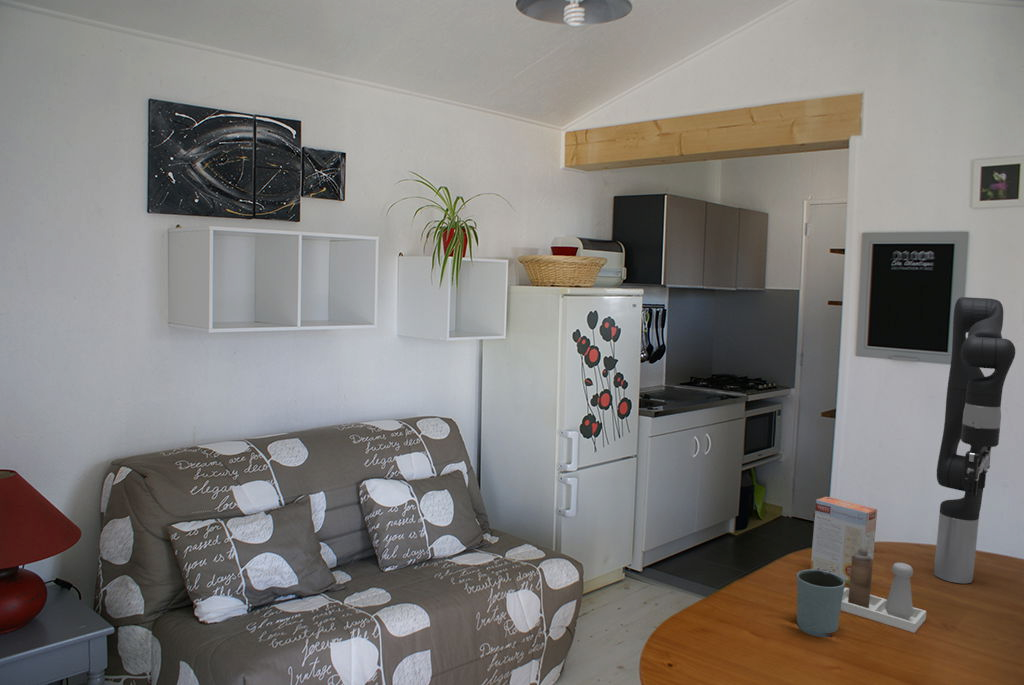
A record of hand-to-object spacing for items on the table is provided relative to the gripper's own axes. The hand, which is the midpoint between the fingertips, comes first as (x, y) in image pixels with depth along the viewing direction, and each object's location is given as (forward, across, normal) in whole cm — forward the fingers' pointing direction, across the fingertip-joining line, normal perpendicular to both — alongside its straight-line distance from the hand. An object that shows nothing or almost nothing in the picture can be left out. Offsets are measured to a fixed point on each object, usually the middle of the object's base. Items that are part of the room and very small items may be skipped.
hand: (974, 491), depth 185 cm
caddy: (+30, +15, -15) cm, 37 cm away
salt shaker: (+30, +15, -10) cm, 35 cm away
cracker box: (+31, -1, -29) cm, 42 cm away
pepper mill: (+29, +15, -19) cm, 38 cm away
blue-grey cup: (+30, +32, -23) cm, 50 cm away
